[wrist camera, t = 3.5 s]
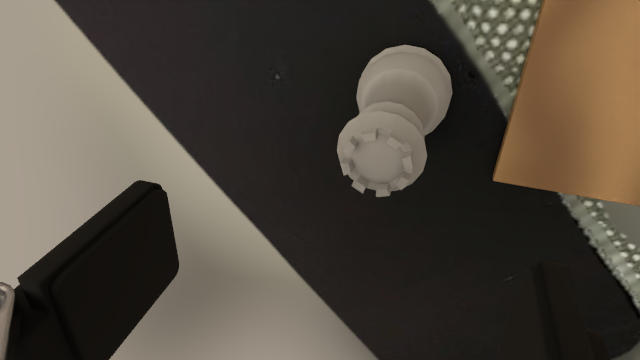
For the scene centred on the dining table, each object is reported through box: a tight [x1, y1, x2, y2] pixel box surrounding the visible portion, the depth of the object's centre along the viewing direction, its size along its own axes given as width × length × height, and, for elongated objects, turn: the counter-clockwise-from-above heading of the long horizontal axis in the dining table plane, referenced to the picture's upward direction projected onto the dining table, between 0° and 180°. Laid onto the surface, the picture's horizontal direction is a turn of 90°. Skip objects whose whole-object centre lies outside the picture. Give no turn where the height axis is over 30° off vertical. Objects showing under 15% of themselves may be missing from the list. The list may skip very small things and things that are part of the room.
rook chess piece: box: [337, 45, 452, 197], centre depth 19 cm, size 4×4×8 cm
